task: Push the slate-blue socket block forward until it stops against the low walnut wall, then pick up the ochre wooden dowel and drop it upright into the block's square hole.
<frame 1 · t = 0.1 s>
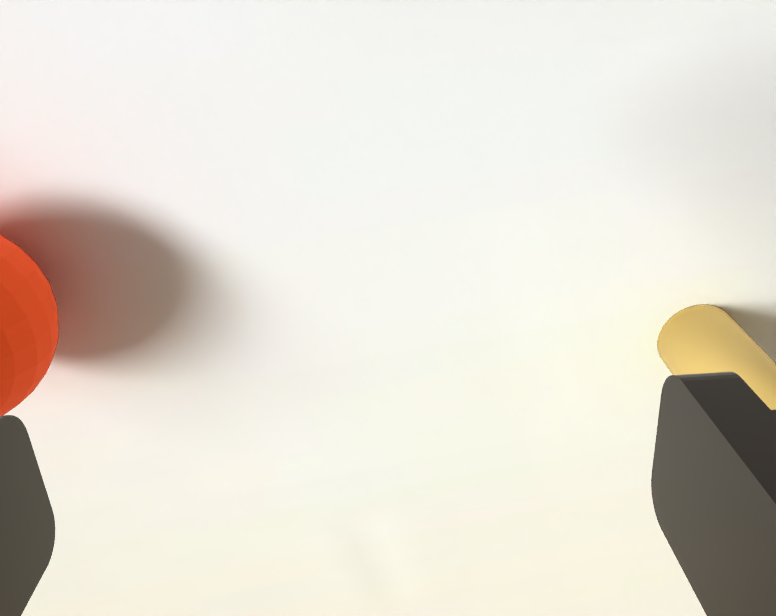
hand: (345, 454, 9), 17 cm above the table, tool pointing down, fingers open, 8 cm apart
dowel: (695, 338, 29), on the table
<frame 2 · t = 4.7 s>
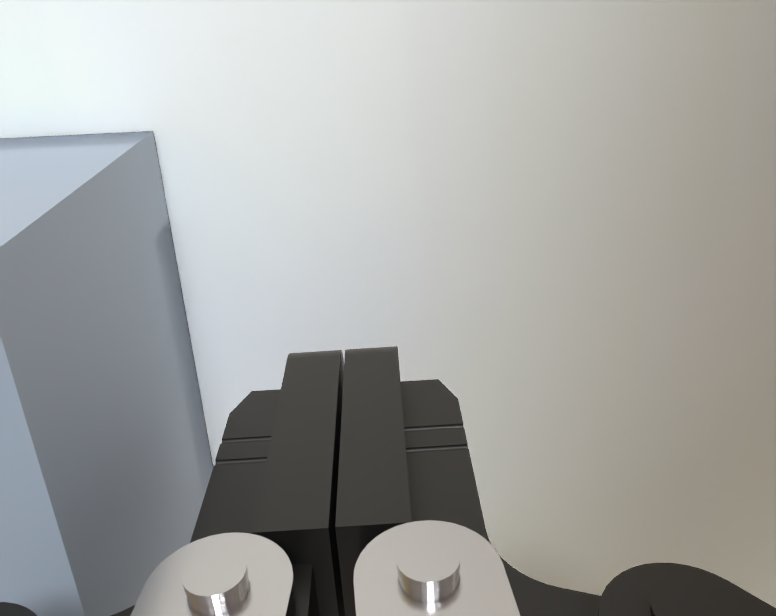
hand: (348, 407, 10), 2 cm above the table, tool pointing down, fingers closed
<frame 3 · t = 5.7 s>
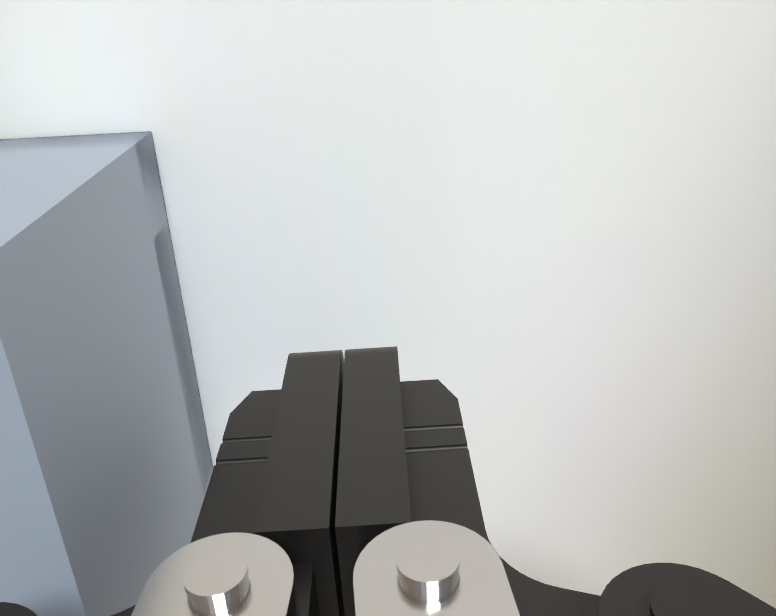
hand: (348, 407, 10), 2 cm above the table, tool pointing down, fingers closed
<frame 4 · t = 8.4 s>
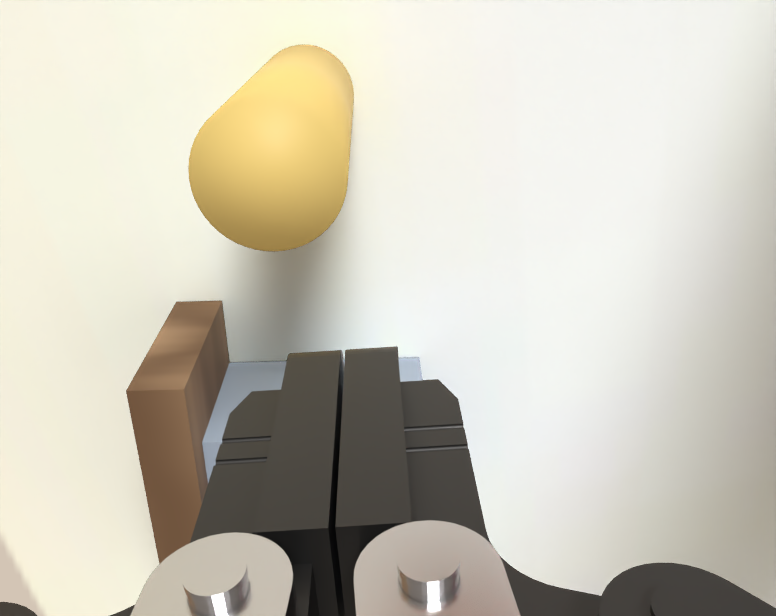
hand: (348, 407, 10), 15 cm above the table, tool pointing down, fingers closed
wall: (218, 442, 28), on the table
socket block: (326, 479, 26), point 2 cm above the table, slide at 6.4 cm
dowel: (305, 95, 23), on the table
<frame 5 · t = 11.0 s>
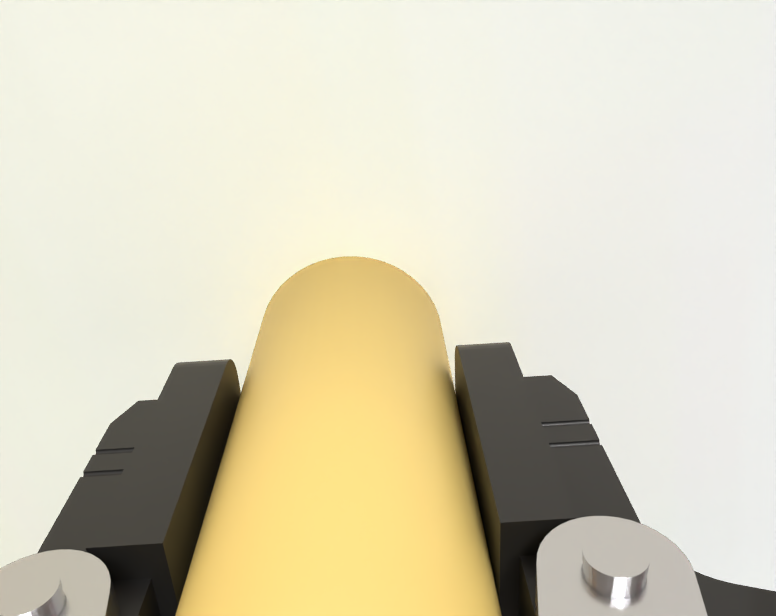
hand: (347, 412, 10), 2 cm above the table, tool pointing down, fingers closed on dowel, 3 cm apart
dowel: (351, 340, 12), on the table, touching gripper
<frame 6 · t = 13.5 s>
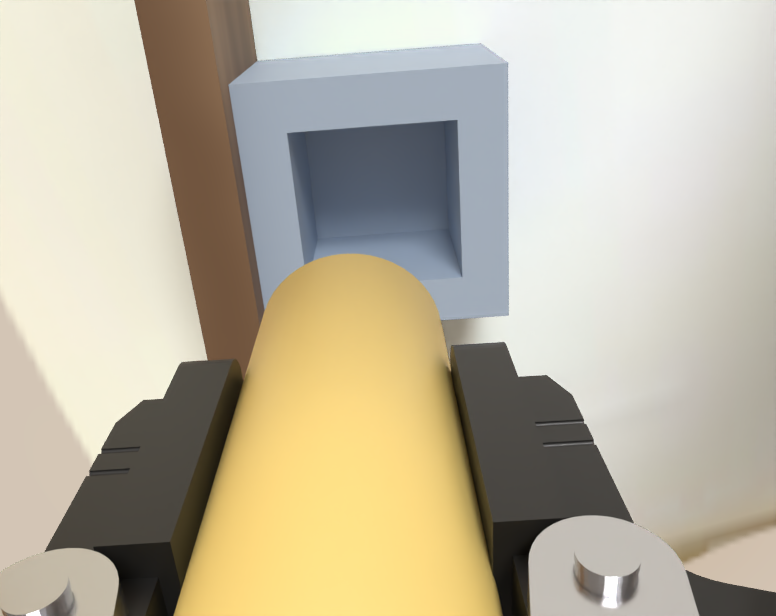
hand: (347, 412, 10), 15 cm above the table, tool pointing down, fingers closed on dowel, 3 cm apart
wall: (248, 173, 24), on the table
socket block: (378, 183, 22), point 2 cm above the table, slide at 6.4 cm
dowel: (351, 338, 12), point 13 cm above the table, touching gripper
when the fingers open (6 cm above the table, at t = 15.9 s): dowel drops 3 cm, resting on socket block.
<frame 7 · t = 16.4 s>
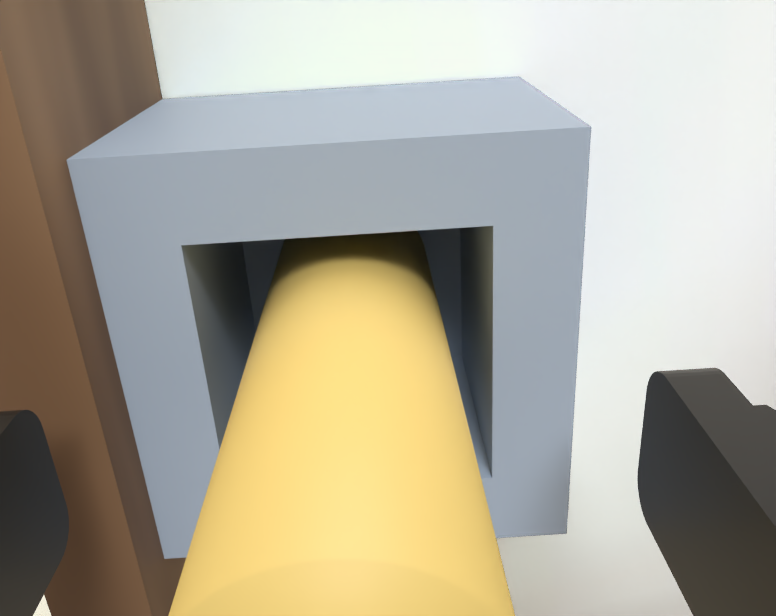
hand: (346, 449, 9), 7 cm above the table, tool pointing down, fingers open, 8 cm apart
wall: (155, 267, 16), on the table
socket block: (352, 303, 13), point 2 cm above the table, slide at 6.4 cm, touching dowel
dowel: (353, 266, 15), point 1 cm above the table, touching socket block
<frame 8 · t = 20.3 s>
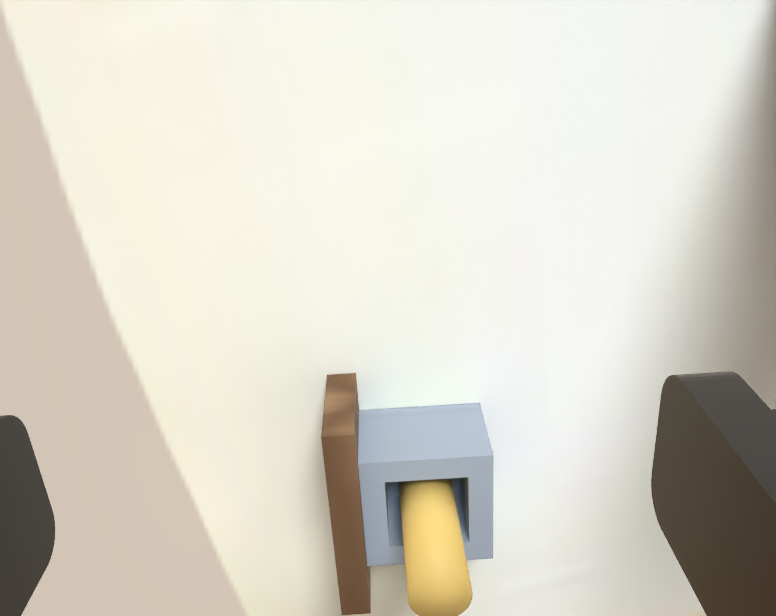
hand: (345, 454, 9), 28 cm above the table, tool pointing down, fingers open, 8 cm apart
wall: (349, 460, 44), on the table
socket block: (424, 483, 41), point 2 cm above the table, slide at 6.4 cm, touching dowel
dowel: (422, 463, 43), point 1 cm above the table, touching socket block
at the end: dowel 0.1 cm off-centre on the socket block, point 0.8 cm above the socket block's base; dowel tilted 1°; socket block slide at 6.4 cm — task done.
